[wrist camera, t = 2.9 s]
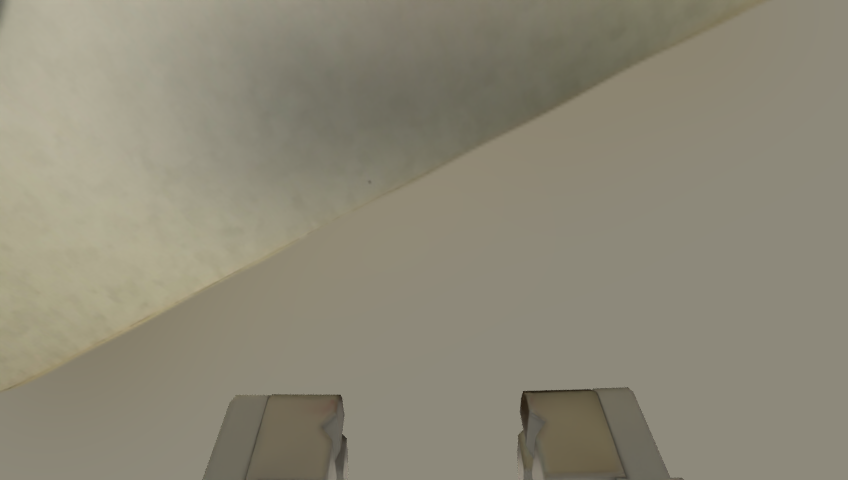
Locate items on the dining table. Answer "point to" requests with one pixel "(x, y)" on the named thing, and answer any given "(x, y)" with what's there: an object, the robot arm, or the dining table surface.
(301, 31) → the dining table surface
